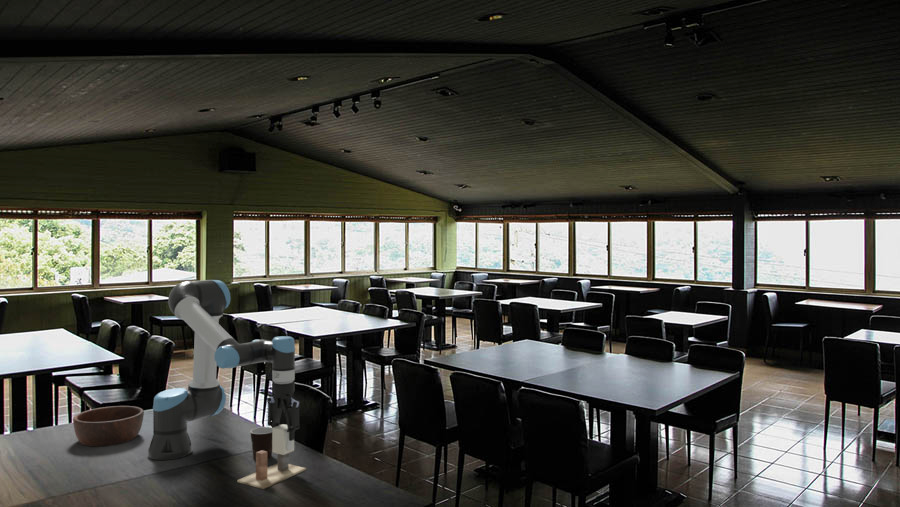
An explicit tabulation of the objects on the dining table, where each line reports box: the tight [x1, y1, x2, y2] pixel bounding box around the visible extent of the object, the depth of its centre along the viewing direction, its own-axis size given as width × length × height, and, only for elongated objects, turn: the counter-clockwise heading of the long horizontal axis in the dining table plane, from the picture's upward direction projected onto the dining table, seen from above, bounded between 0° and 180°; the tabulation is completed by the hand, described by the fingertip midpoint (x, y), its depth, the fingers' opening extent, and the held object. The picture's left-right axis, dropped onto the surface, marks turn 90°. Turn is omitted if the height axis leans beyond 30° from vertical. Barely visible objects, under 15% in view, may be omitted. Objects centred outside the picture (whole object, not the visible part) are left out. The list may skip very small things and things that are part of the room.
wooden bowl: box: [72, 405, 145, 447], centre depth 253 cm, size 25×25×10 cm
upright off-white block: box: [271, 423, 295, 455], centre depth 219 cm, size 5×5×9 cm
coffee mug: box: [250, 426, 273, 461], centre depth 234 cm, size 12×9×10 cm
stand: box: [236, 450, 307, 490], centre depth 215 cm, size 12×20×10 cm, turn 151°
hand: (283, 447), depth 219 cm, fingers closed on upright off-white block, 5 cm apart
